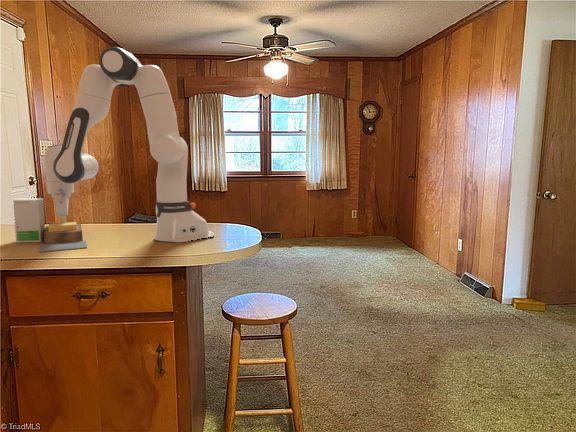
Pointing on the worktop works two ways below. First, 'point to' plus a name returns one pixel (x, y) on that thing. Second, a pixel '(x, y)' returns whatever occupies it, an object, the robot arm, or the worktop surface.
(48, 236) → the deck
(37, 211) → the skincare box
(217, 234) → the worktop surface
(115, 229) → the worktop surface
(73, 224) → the yellow rectangular block
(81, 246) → the mat
